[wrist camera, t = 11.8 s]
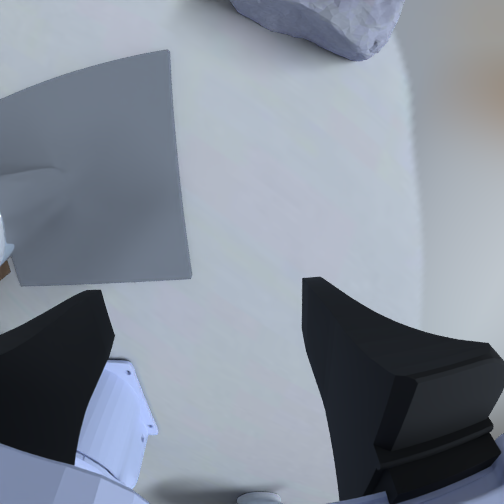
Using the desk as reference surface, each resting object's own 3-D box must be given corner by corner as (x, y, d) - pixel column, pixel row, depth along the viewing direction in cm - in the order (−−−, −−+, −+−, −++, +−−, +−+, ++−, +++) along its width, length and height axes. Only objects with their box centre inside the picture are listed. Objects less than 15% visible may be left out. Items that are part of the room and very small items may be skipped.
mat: (192, 274, 21) (190, 278, 20) (24, 282, 21) (20, 286, 20) (169, 51, 16) (167, 49, 15) (-8, 105, 16) (-13, 105, 15)
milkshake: (86, 148, 17) (-29, 177, 8) (77, 230, 19) (-17, 308, 10) (30, 140, 16) (-85, 168, 7) (25, 218, 18) (-74, 280, 9)
